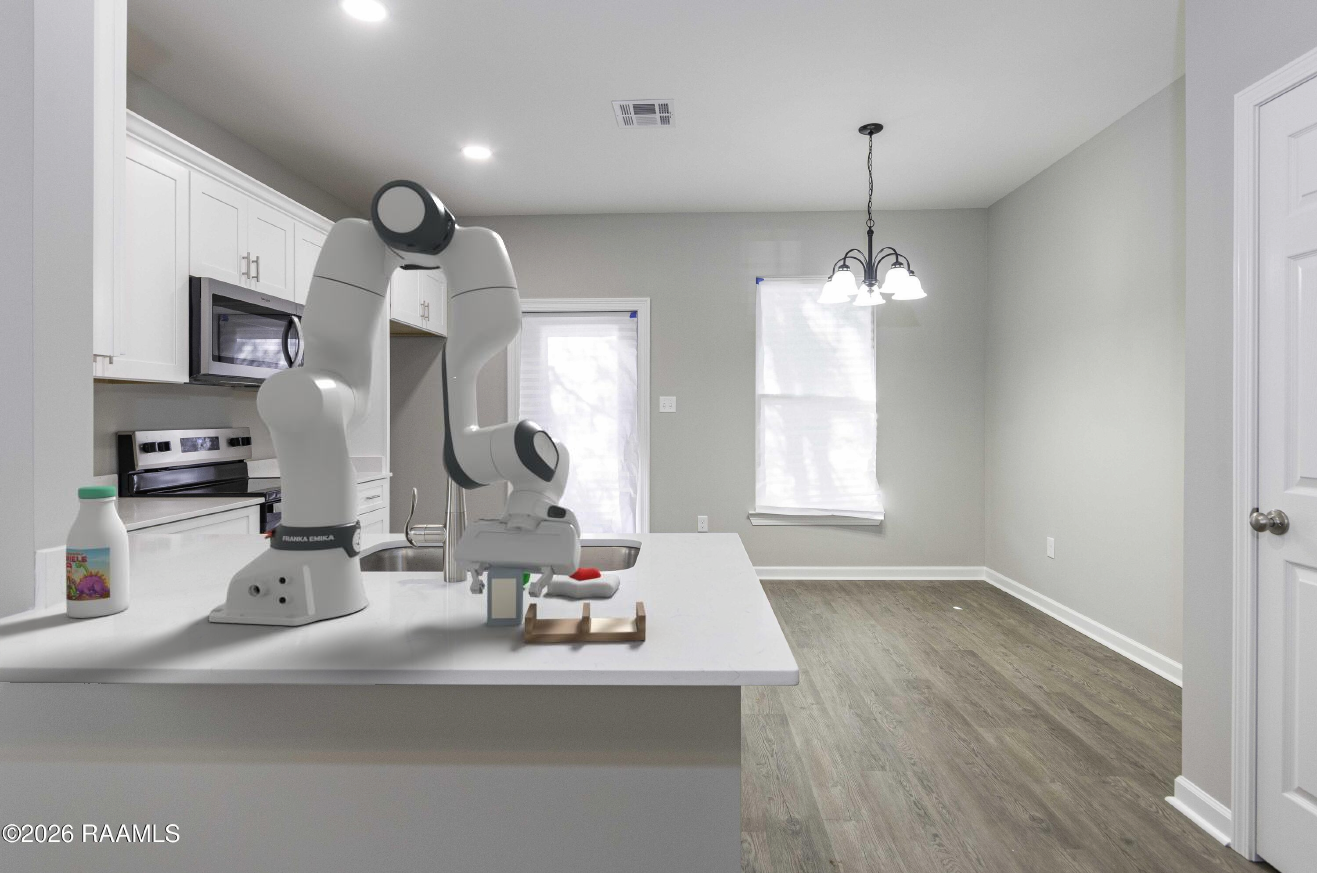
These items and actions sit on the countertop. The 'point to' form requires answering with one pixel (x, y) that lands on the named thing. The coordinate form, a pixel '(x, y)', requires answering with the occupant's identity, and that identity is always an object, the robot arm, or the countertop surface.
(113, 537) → the milk bottle
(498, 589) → the frame
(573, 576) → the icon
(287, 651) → the countertop surface
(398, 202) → the robot arm
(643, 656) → the countertop surface
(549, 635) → the wooden rack
